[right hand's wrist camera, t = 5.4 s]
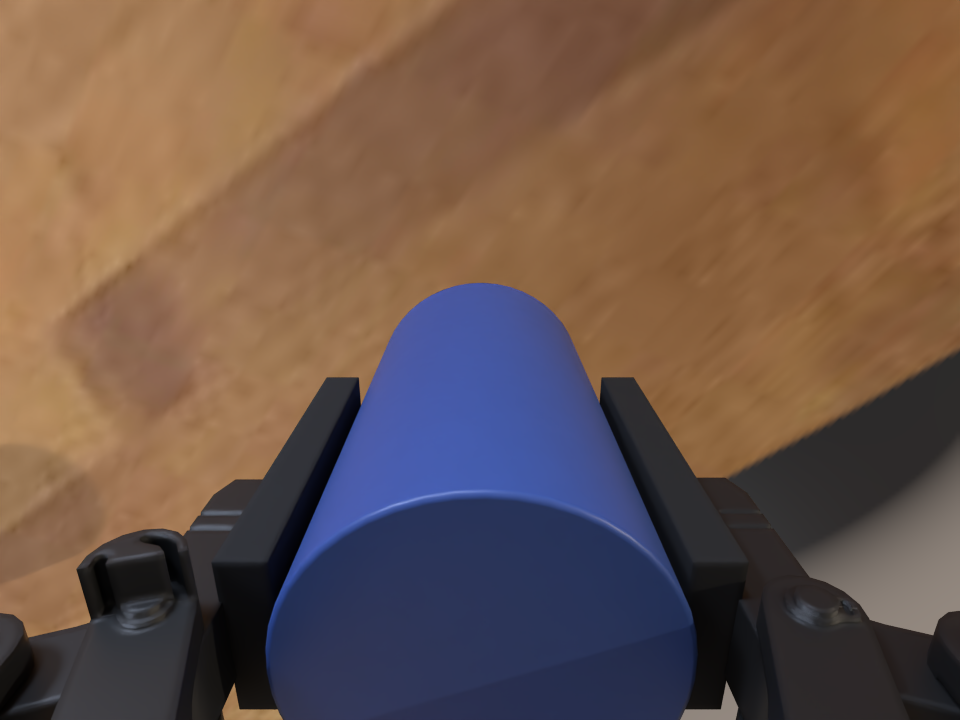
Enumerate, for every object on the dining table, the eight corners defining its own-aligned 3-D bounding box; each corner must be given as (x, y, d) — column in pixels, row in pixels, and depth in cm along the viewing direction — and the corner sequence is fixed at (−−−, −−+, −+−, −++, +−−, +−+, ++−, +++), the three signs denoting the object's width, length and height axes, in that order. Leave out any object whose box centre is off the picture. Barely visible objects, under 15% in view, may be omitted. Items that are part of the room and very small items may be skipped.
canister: (557, 473, 19) (640, 839, 9) (374, 449, 19) (258, 800, 9) (597, 298, 17) (758, 525, 7) (393, 267, 17) (268, 461, 7)
